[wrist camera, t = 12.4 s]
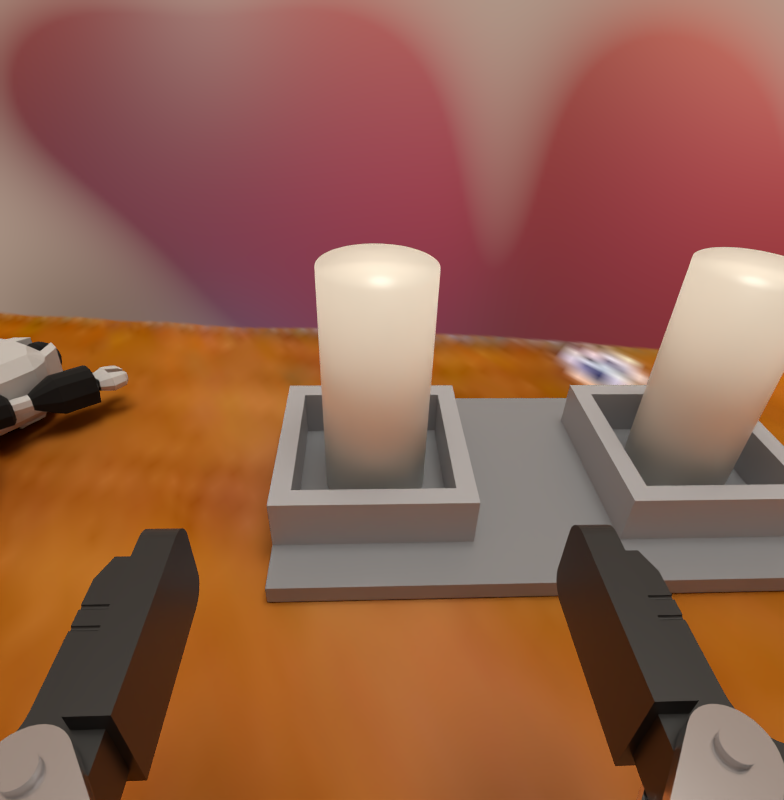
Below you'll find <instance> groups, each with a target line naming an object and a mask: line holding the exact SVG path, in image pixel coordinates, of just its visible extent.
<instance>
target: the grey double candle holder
mask: <svg viewBox="0 0 784 800" xmlns="http://www.w3.org/2000/svg"><path fill="white" fill-rule="evenodd" d="M783 372H784V256H781V255H777V254H774V253H769V252H764V251H759V250H752V249H745V248H733V247H715V248H707V249H702V250H700V251H697V252H696V253H694V255H693V257H692V260H691V263H690V265H689V269H688V271H687V274H686V277H685V279H684V282H683V285H682V288H681V291H680V293H679V296H678V299H677V302H676V305H675V307H674V310H673V313H672V316H671V318H670V321H669V324H668V327H667V330H666V333H665V335H664V338H663V341H662V344H661V346H660V349H659V352H658V355H657V358H656V360H655V363H654V366H653V369H652V372H651V374H650V377H649V380H648V383H647V385H570V388H569V392H568V395H567V398H475V399H455V396H454V392H453V388H452V386H431V390H430V402H429V414H428V427H427V439H426V451H425V463H424V475H423V483H422V486H421V489H347V490H330V489H329V486H328V483H327V475H326V458H325V440H324V423H323V406H322V388H321V386H290V389H289V394H288V400H287V405H286V410H285V415H284V420H283V425H282V430H281V435H280V440H279V446H278V451H277V456H276V461H275V466H274V471H273V476H272V481H271V486H270V491H269V497H268V502H267V511H268V518H269V525H270V531H271V538H272V544H273V546H272V552H271V558H270V563H269V569H268V575H267V581H266V587H265V591H266V597H267V602H295V601H339V600H384V599H428V598H473V597H518V596H558V592H557V582H556V577H557V570H558V566H559V563H560V560H561V557H562V554H563V550H564V547H565V544H566V541H567V538H568V535H569V532H570V529H571V527H572V526H573V525H611V526H612V527H613V528H614V529H615V531H616V532H617V534H618V536H619V538H620V540H621V542H622V544H623V546H624V548H625V550H638V551H639V552H640V553H641V554H642V555H643V556H644V557H645V558H646V559H647V560H648V561H649V562H650V563H651V564H652V565H653V566H654V567H655V568H656V569H657V570H658V571H659V572H660V574H661V576H662V578H663V580H664V581H665V583H666V585H667V587H668V589H669V591H670V593H696V592H741V591H784V446H783V445H782V444H781V443H780V442H779V441H778V440H777V439H776V438H775V437H774V436H773V435H772V434H771V433H770V432H769V431H768V430H767V429H766V428H765V427H764V426H763V425H762V424H761V423H760V422H759V421H758V420H759V418H760V416H761V414H762V412H763V410H764V409H765V407H766V405H767V403H768V401H769V399H770V397H771V395H772V393H773V391H774V389H775V388H776V386H777V384H778V382H779V380H780V378H781V376H782V374H783Z"/></svg>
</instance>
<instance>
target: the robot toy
mask: <svg viewBox="0 0 784 800" xmlns="http://www.w3.org/2000/svg"><path fill="white" fill-rule="evenodd" d="M61 364H62V359H61V355H60V353H59V351H58V350H57V349H56V347H55V346H54V345H53V344H52V343H49V344H48V343H44V342H34V343H32V341H31V338H11V339H7V340H6V339H0V436H1V435H3V434H5V433H7V432H10V431H12V430H14V429H16V428H18V427H19V428H20V429H23V428H24V427H26V426H28V425H30V424H32V423H34V422H36V421H38V420H40V419H42V418H44V417H46V413H47V412H53V413H65V414H67V413H70V412H73V411H76V410H79V409H82V408H85V407H88V406H91V405H94V404H97V403H100V402H101V398H100V392H99V390H100V391H101V390H117V389H119V388H121V387H123V386H125V385H127V382H128V375H127V373H126V372H125V371H122V369H121V368H119V367H116V366H107V367H100V368H99V369H98V370H96V371H95V372H94V373H92V372H91V371H90V369H88V368H87V367H86V366H79V367H76V368H72V369H69V370H65V371H63V370H62V366H61Z"/></svg>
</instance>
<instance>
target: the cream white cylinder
mask: <svg viewBox="0 0 784 800" xmlns="http://www.w3.org/2000/svg"><path fill="white" fill-rule="evenodd" d="M439 281H440V265H439V263H438V261H437V260H436V259H435V258H433V257H432V256H430V255H429V254H427V253H425V252H422V251H419V250H416V249H413V248H409V247H405V246H399V245H390V244H358V245H351V246H345V247H341V248H337V249H334V250H331V251H329V252H327V253H325V254H323V255H322V256H320V257H319V258H318V259H317V260H316V262H315V284H316V302H317V318H318V336H319V354H320V371H321V388H322V406H323V423H324V440H325V458H326V475H327V483H328V486H329V489H330V490H347V489H421V486H422V483H423V475H424V463H425V451H426V439H427V427H428V414H429V402H430V390H431V378H432V366H433V354H434V341H435V329H436V317H437V305H438V293H439Z"/></svg>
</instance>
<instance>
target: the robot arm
mask: <svg viewBox="0 0 784 800" xmlns="http://www.w3.org/2000/svg"><path fill="white" fill-rule="evenodd" d="M556 582H557V592H558V597H559V600H560V603H561V606H562V609H563V612H564V615H565V618H566V621H567V624H568V627H569V630H570V633H571V636H572V639H573V642H574V645H575V648H576V651H577V654H578V657H579V660H580V663H581V666H582V669H583V672H584V675H585V678H586V681H587V684H588V687H589V690H590V693H591V695H592V698H593V701H594V704H595V707H596V710H597V713H598V716H599V719H600V722H601V725H602V728H603V731H604V734H605V737H606V740H607V743H608V746H609V749H610V752H611V755H612V758H613V761H614V764H615V766H627V765H636V767H637V770H638V773H639V776H640V778H641V781H642V784H641V787H640V789H639V792H638V796H637V799H636V800H784V743H781V742H779V741H776V740H774V739H772V738H770V736H769V735H768V734H767V733H766V732H765V731H764V730H763V729H762V728H761V727H760V726H759V725H758V724H757V723H756V722H755V721H753V720H752V719H751V718H750V717H748V716H747V715H745V714H743V713H742V712H740V711H738V710H736V709H735V708H734V707H733V706H732V704H731V703H730V702H729V700H728V699H727V697H726V695H725V694H724V692H723V690H722V688H721V686H720V684H719V682H718V681H717V679H716V677H715V675H714V673H713V671H712V669H711V667H710V666H709V664H708V662H707V660H706V658H705V656H704V654H703V652H702V651H701V649H700V647H699V645H698V643H697V641H696V639H695V638H694V636H693V634H692V632H691V630H690V628H689V626H688V624H687V623H686V621H685V620H683V618H682V613H681V611H680V609H679V608H678V606H677V604H676V602H675V600H672V597H671V596H672V594H671V593H670V591H669V589H668V587H667V585H666V583H665V581H664V580H663V578H662V576H661V574H660V572H659V571H658V570H657V569H656V568H655V567H654V566H653V565H652V564H651V563H650V562H649V561H648V560H647V559H646V558H645V557H644V556H643V555H642V554H641V553H640V552H639V551H638V550H625V548H624V546H623V544H622V542H621V540H620V538H619V536H618V534H617V532H616V531H615V529H614V528H613V527H612V526H611V525H573V526H572V527H571V529H570V532H569V535H568V538H567V541H566V544H565V547H564V550H563V554H562V557H561V560H560V563H559V566H558V570H557V577H556ZM198 596H199V575H198V571H197V568H196V564H195V560H194V557H193V553H192V550H191V546H190V542H189V539H188V535H187V532H186V531H185V529H145V530H144V531H143V532H142V533H141V535H140V536H139V539H138V541H137V543H136V545H135V548H134V550H133V552H132V555H131V557H114V558H113V559H112V560H111V562H110V563H109V564H108V565H107V566H106V567H105V568H104V569H103V570H102V571H101V572H100V573H99V574H98V575H97V576H96V577H95V578H94V579H93V581H92V583H91V586H90V588H89V590H88V592H87V594H86V596H85V598H84V600H83V602H82V604H81V610H78V612H77V615H76V617H75V619H74V621H73V623H72V625H71V631H68V633H67V635H66V637H65V639H64V641H63V644H62V646H61V648H60V650H59V652H58V654H57V656H56V658H55V660H54V662H53V664H52V666H51V668H50V670H49V673H48V675H47V677H46V679H45V681H44V683H43V685H42V687H41V689H40V691H39V693H38V695H37V697H36V699H35V702H34V704H33V706H32V708H31V710H30V712H29V714H28V715H27V717H26V719H25V721H24V722H23V723H22V725H21V726H20V728H19V729H18V730H17V731H16V732H15V733H13V734H11V735H10V736H8V737H7V738H5V739H4V740H2V741H1V742H0V800H120V799H121V796H122V793H123V790H124V787H125V783H126V781H142V780H147V778H148V775H149V771H150V768H151V764H152V761H153V757H154V754H155V750H156V747H157V743H158V740H159V736H160V733H161V729H162V725H163V722H164V718H165V715H166V711H167V708H168V704H169V701H170V697H171V694H172V690H173V687H174V683H175V680H176V676H177V673H178V669H179V666H180V662H181V659H182V655H183V652H184V648H185V645H186V641H187V638H188V634H189V631H190V627H191V624H192V620H193V617H194V613H195V610H196V606H197V602H198Z"/></svg>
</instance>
